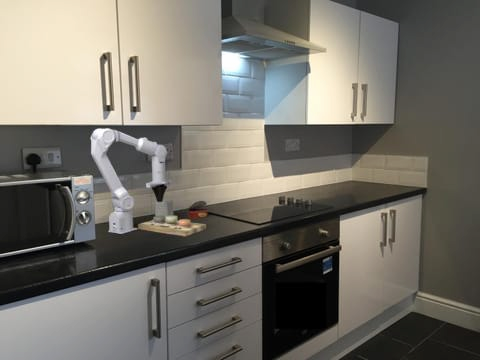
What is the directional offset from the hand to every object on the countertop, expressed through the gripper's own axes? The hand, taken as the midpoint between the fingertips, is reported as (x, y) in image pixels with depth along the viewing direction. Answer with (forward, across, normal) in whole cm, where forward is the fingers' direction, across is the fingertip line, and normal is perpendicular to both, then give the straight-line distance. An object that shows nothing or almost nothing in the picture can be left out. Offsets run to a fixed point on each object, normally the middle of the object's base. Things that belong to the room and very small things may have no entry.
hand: (159, 201), depth 190 cm
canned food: (+11, +23, -4) cm, 26 cm away
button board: (+10, -4, -10) cm, 15 cm away
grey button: (+8, -4, -3) cm, 9 cm away
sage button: (+7, -4, -10) cm, 13 cm away
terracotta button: (+8, -4, -17) cm, 19 cm away
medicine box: (+11, +12, +8) cm, 18 cm away
